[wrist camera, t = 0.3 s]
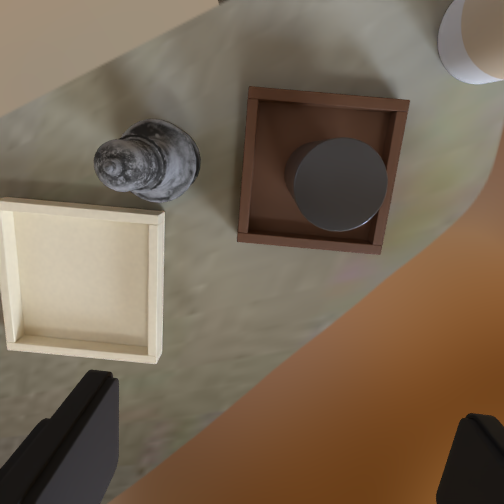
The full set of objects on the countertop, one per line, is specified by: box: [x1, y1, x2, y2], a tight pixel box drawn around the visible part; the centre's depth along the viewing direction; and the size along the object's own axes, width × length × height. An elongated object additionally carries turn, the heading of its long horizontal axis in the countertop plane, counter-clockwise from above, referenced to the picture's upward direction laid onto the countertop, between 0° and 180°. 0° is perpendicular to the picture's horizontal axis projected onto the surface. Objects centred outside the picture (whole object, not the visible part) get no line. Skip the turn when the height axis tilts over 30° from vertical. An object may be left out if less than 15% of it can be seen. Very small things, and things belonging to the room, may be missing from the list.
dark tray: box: [237, 86, 410, 255], centre depth 29 cm, size 12×12×2 cm
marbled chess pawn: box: [94, 119, 200, 203], centre depth 24 cm, size 6×6×12 cm
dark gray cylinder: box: [284, 137, 388, 232], centre depth 24 cm, size 5×5×10 cm
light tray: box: [0, 197, 165, 364], centre depth 32 cm, size 14×14×2 cm
